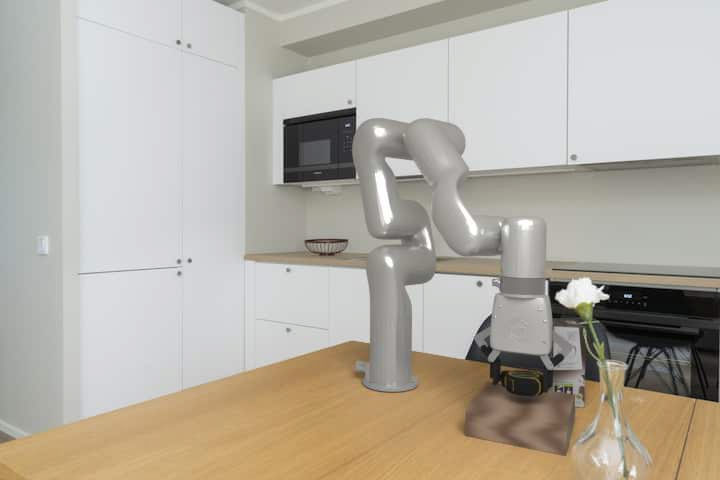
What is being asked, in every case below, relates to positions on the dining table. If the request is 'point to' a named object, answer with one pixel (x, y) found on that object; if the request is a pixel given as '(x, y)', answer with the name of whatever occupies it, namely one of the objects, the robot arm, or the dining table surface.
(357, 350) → the dining table surface
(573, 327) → the coffee box
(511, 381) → the tape measure
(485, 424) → the block
